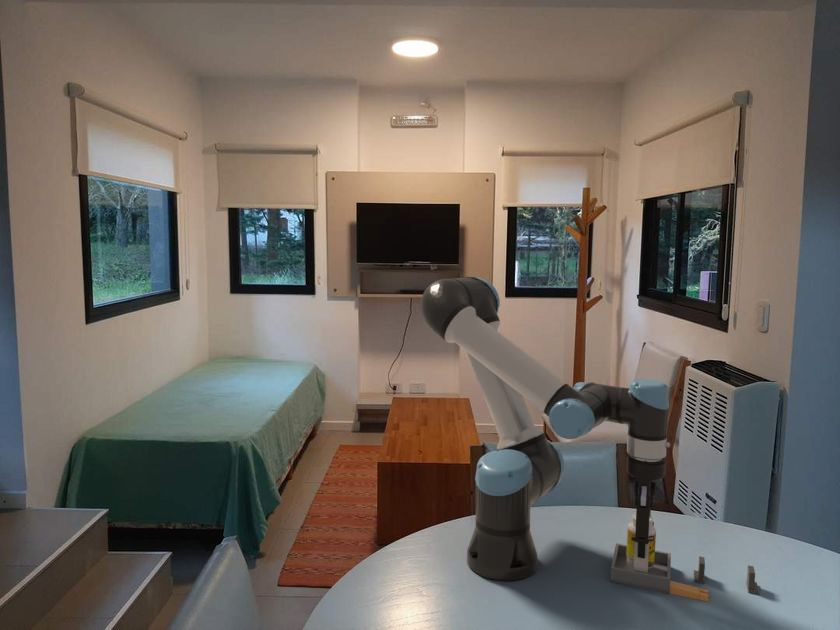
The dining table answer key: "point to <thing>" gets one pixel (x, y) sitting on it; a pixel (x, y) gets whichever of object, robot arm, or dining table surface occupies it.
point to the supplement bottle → (632, 543)
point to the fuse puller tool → (688, 591)
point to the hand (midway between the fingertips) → (641, 563)
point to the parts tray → (652, 580)
